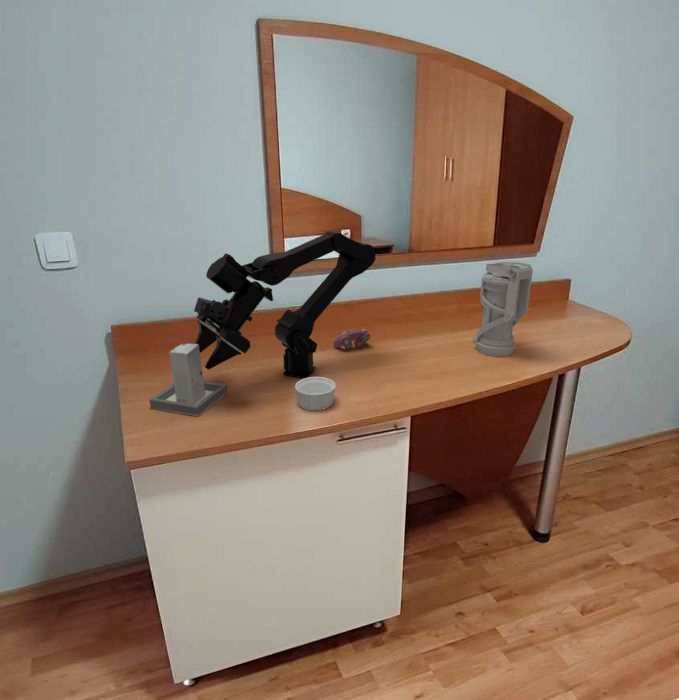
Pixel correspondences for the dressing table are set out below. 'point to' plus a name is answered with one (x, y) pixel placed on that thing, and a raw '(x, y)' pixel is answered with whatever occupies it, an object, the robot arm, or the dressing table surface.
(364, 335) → the video game controller
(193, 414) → the holder
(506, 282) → the lantern
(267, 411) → the dressing table surface
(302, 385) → the ramekin
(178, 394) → the skincare box
